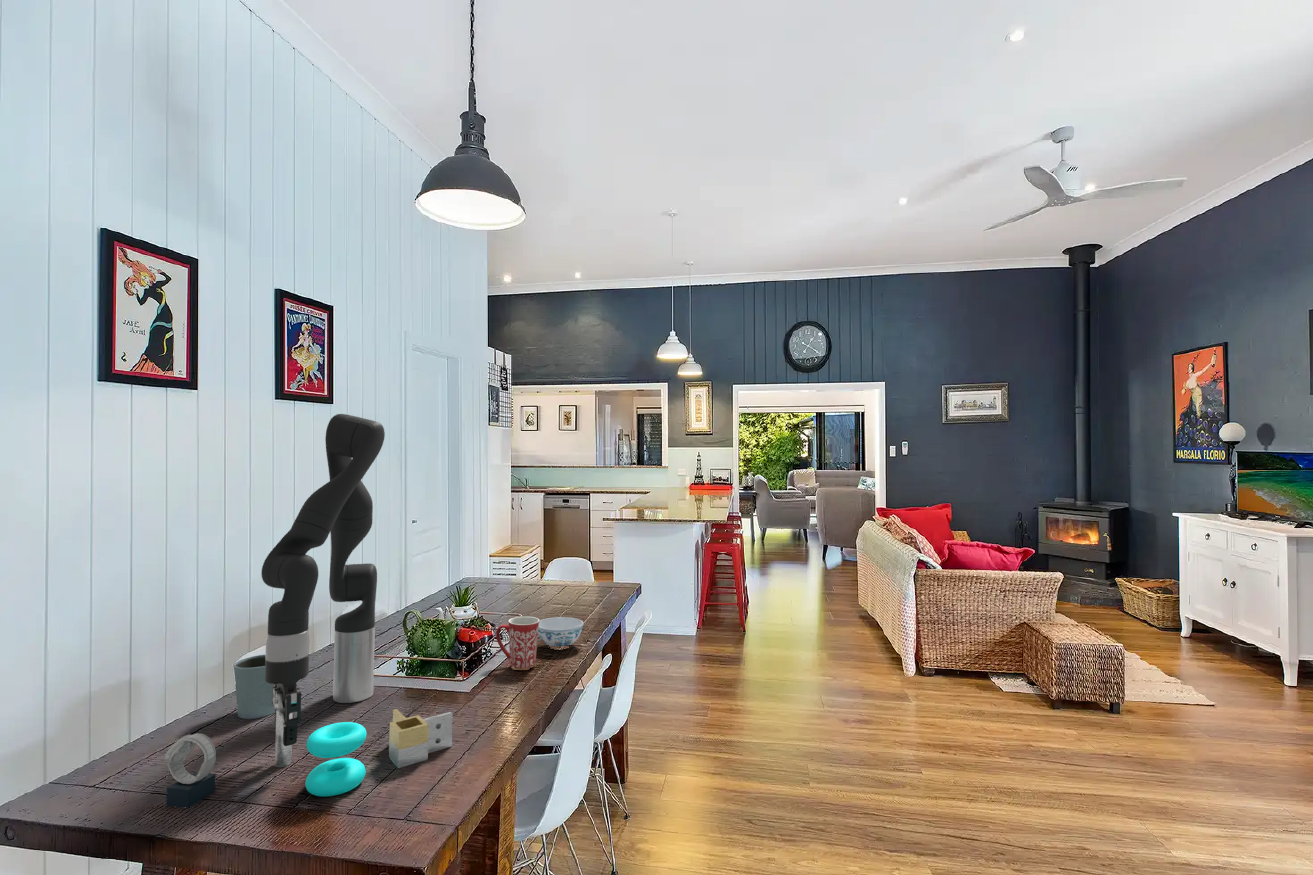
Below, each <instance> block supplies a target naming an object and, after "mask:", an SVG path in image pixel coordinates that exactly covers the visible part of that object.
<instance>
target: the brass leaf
mask: <svg viewBox="0 0 1313 875" xmlns="http://www.w3.org/2000/svg"><path fill="white" fill-rule="evenodd" d="M423 719H424V718H422V716H420V715H419V714H417V715H413V716H410V717H406V716H405V715H404V714H403V713H402V712H401V711H399V709H397V708H395V709H392V721H390V722H389V735H388V736H389V737H388V741H389V740H390V741H391V742H392V743H393V745H394V746H395V747H396V748H397V749H398V750H402V749H405V748H409V747H412V746H416V745H419V744H423V743H426V742H428V727H429V724H428V723H426V722H425V721H424V720H423Z"/></svg>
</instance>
